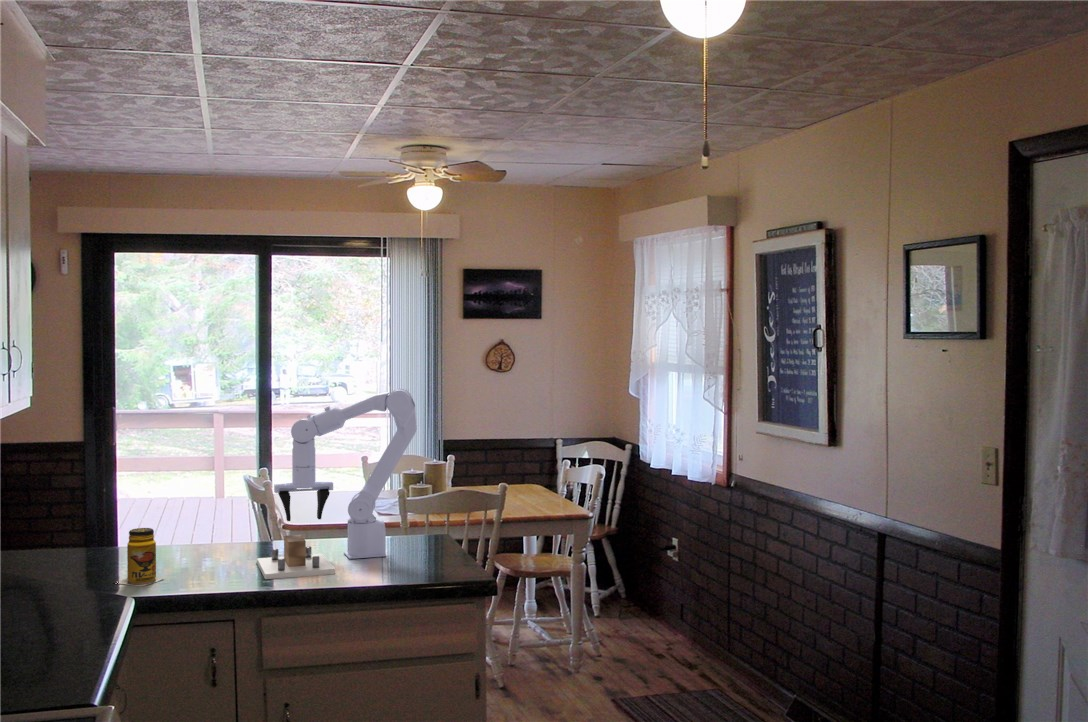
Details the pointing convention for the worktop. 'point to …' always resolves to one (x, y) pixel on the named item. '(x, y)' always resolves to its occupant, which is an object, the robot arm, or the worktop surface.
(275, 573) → the plate
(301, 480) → the robot arm
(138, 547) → the condiment
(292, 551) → the walnut block
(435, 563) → the worktop surface
